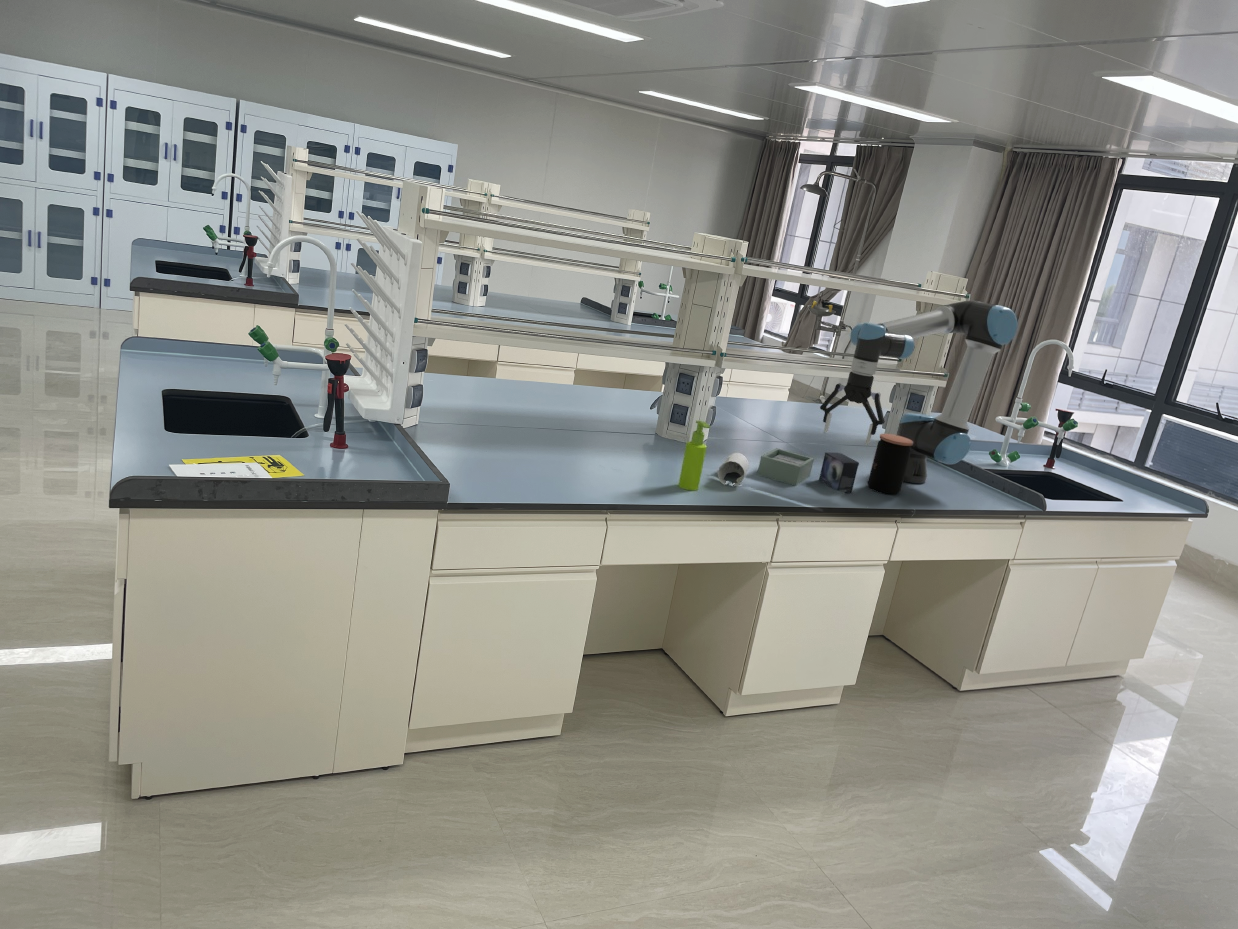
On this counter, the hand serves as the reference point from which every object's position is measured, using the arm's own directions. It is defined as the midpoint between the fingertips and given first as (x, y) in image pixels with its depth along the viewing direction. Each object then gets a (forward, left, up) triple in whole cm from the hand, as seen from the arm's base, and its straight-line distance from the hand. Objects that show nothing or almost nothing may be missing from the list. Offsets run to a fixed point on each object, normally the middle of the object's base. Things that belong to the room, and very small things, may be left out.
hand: (846, 438), depth 278 cm
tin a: (+15, +2, -16) cm, 22 cm away
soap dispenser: (+32, +46, -17) cm, 58 cm away
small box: (0, 0, -17) cm, 17 cm away
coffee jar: (-13, -14, -17) cm, 25 cm away
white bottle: (+27, +25, -17) cm, 40 cm away
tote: (+15, +6, -17) cm, 23 cm away
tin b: (+15, +9, -16) cm, 24 cm away
